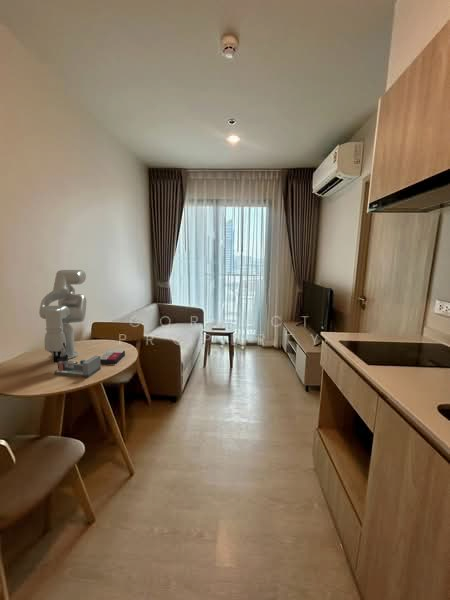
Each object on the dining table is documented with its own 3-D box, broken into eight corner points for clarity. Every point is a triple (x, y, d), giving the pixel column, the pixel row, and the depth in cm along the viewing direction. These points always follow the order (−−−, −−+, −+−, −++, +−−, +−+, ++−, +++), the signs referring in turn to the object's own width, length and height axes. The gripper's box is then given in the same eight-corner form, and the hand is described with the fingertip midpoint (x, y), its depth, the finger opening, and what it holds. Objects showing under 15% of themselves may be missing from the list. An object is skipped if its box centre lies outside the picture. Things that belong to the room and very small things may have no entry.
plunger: (54, 370, 141) (53, 360, 140) (65, 364, 149) (65, 354, 148) (68, 372, 140) (68, 361, 139) (79, 365, 148) (78, 355, 147)
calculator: (97, 359, 155) (108, 349, 170) (97, 365, 156) (108, 355, 171) (115, 359, 155) (124, 349, 170) (115, 366, 156) (125, 355, 171)
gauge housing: (54, 374, 141) (53, 360, 140) (69, 365, 152) (68, 353, 151) (88, 377, 139) (87, 363, 137) (100, 369, 149) (100, 355, 148)
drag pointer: (59, 371, 141) (58, 362, 140) (61, 369, 142) (60, 361, 141) (60, 371, 140) (60, 362, 140) (63, 370, 142) (62, 361, 141)
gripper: (37, 331, 140) (39, 363, 143) (61, 333, 138) (64, 365, 141) (48, 327, 148) (50, 358, 151) (71, 329, 146) (73, 360, 148)
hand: (57, 361), depth 146 cm, fingers closed
